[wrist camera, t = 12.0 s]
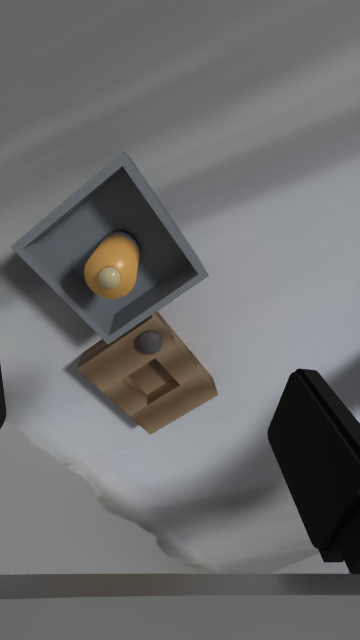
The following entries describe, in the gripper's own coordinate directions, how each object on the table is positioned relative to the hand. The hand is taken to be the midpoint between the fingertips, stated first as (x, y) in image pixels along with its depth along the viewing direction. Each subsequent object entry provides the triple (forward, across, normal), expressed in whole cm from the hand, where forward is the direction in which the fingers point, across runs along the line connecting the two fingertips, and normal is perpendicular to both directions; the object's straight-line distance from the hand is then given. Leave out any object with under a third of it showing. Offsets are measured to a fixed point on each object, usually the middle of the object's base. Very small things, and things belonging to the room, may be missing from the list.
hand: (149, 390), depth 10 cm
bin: (+25, +4, +1) cm, 25 cm away
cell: (+24, +3, +1) cm, 24 cm away
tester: (+25, -2, +17) cm, 30 cm away
